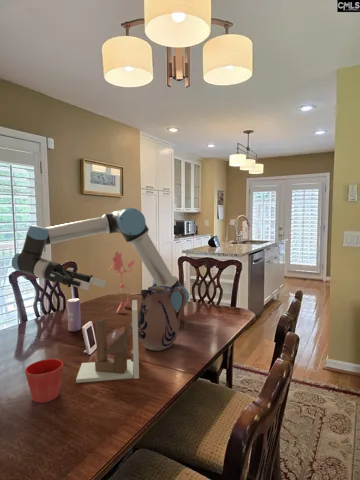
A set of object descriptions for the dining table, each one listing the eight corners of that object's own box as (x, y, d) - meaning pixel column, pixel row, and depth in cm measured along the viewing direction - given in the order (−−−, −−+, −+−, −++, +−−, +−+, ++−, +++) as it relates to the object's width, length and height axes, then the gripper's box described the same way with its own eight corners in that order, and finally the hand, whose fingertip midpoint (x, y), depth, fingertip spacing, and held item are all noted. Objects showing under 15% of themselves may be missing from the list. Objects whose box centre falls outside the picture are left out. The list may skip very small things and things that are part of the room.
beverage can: (83, 328, 160) (82, 298, 159) (75, 332, 155) (74, 301, 153) (73, 326, 162) (72, 297, 161) (65, 331, 156) (64, 300, 155)
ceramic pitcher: (132, 342, 141) (131, 286, 139) (176, 334, 149) (175, 282, 147) (144, 358, 125) (142, 295, 123) (192, 349, 133) (192, 290, 131)
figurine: (139, 304, 200) (136, 248, 197) (121, 317, 175) (117, 254, 173) (116, 303, 204) (114, 249, 201) (95, 316, 179) (92, 254, 177)
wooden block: (123, 374, 111) (122, 323, 109) (95, 371, 113) (93, 321, 112) (127, 369, 114) (126, 319, 113) (99, 366, 117) (97, 318, 115)
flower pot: (34, 387, 105) (32, 359, 104) (68, 385, 106) (67, 357, 105) (20, 407, 95) (19, 375, 94) (59, 404, 96) (57, 373, 95)
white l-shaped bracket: (138, 361, 123) (137, 299, 121) (139, 378, 110) (137, 310, 108) (82, 365, 120) (79, 302, 118) (75, 383, 107) (72, 313, 105)
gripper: (64, 278, 139) (108, 292, 135) (26, 281, 115) (78, 298, 110) (68, 261, 139) (112, 275, 135) (31, 261, 115) (84, 277, 111)
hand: (97, 285), depth 123 cm, fingers open, 13 cm apart
